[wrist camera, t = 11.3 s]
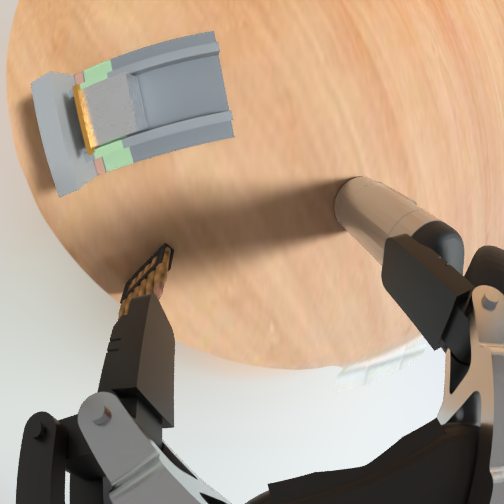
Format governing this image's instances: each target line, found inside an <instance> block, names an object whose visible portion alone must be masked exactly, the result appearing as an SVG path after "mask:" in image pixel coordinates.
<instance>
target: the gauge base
mask: <svg viewBox="0 0 504 504" xmlns="http://www.w3.org/2000/svg"><path fill="white" fill-rule="evenodd" d="M219 52H220V49H219V44H218V42H216V39H215V34H214V31H211V32H205V33H200V34H195V35H190V36H186V37H181V38H177V39H173V40H169V41H165V42H162V43H158V44H154V45H151V46H148V47H144V48H141V49H138V50H135V51H132V52H129V53H126V54H124V55H121V56H118V57H116V58H113V59H110V60H107V61H105V62H102V63H100V64H98V65H95V66H93V67H91V68H88V69H86V70H84V71H82V72H80V73H78V74H76V75H69V74H63V73H57V72H49V73H47V74H45V75H43V76H42V77H40V78H38V79H37V80H35V81H34V82H32V83H31V88H32V95H33V101H34V106H35V112H36V117H37V122H38V126H39V131H40V135H41V139H42V143H43V147H44V151H45V154H46V158H47V161H48V165H49V168H50V171H51V175H52V178H53V181H54V184H55V187H56V190H57V193H58V195H59V197H62V196H64V195H66V194H69V193H71V192H74V191H76V190H79V189H80V188H81V187H83V186H84V185H85V184H87V183H88V182H89V181H91V180H92V179H93V178H95V177H96V176H97V175H100V174H102V173H105V172H108V171H111V170H114V169H117V168H120V167H123V166H126V165H129V164H132V163H135V162H138V161H141V160H144V159H147V158H151V157H154V156H158V155H161V154H165V153H168V152H172V151H176V150H180V149H183V148H187V147H191V146H195V145H200V144H204V143H208V142H213V141H217V140H222V139H227V138H232V137H234V133H233V128H232V123H231V120H233V117H232V112H231V111H229V107H228V102H227V96H226V91H225V86H224V81H223V75H222V70H221V65H220V60H219ZM123 72H127V73H129V74H131V75H133V76H136V77H138V82H139V87H140V92H141V97H142V101H143V106H144V110H145V115H146V119H147V124H148V128H145V129H142V130H139V131H136V132H133V133H130V134H127V135H124V136H121V137H118V138H116V139H113V140H110V141H107V142H105V143H102V144H100V145H97V146H95V147H94V150H95V153H93V154H91V155H89V156H88V153H87V150H86V146H85V142H84V138H83V134H82V130H81V126H80V122H79V118H78V113H77V109H76V104H75V99H74V94H73V88H72V86H74V85H76V84H80V89H84V88H86V87H88V86H90V85H93V84H95V83H97V82H100V81H102V80H105V79H107V78H110V77H112V76H115V75H117V74H120V73H123Z"/></svg>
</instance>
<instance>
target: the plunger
mask: <svg viewBox="0 0 504 504" xmlns="http://www.w3.org/2000/svg"><path fill="white" fill-rule="evenodd" d="M72 88H73V94H74V99H75V104H76V109H77V113H78V118H79V122H80V126H81V130H82V134H83V138H84V142H85V146H86V150H87V153H88V156H89V155H91V154H93V153H95V150H94V147H95V146H97V145H100V144H102V143H105V142H107V141H110V140H113V139H116V138H118V137H121V136H124V135H127V134H130V133H133V132H136V131H139V130H142V129H145V128H148V124H147V119H146V115H145V110H144V106H143V101H142V97H141V92H140V87H139V82H138V77H136V76H133V75H131V74H129V73H127V72H123V73H120V74H117V75H115V76H112V77H110V78H107V79H105V80H102V81H100V82H97V83H95V84H93V85H90V86H88V87H86V88H84V89H80V84H76V85H74V86H72Z"/></svg>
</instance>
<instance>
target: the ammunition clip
mask: <svg viewBox="0 0 504 504" xmlns="http://www.w3.org/2000/svg"><path fill="white" fill-rule="evenodd" d="M173 253H174V250H173V249H172V248H171V247H170V246H168V245H167V244H166V243H165V244H164V245H163V246H162V247H161V248H160V249H159V250H158V251H157V252H156V253H155V254H154V255H153V256H152V257H151V258H150V259H149V260H148V261H147V262H146V263H145V264H144V265H143V266H142V267H141V268H140V269H139V270H138V271H137V272H136V273H135V274H134V275H133V277H132V278H131V279H130V280H129V281H128V282H127V283H126V285H125V288H124V291H123V295H122V298H121V301H120V303H121V308H120V311H119V318H120V317H121V316H122V315H127V313H128V309H129V305H130V302H131V299H132V298H134V297H138V296H143V295H148V294H152V293H154V294H155V295H156V296H157V298H158V300H159V299H160V297H161V295H162V292H163V288H164V284H165V282H166V279H167V273H168V271H169V270H170V268H171V263H172V258H173ZM119 318H118V320H119Z"/></svg>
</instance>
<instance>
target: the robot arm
mask: <svg viewBox="0 0 504 504" xmlns="http://www.w3.org/2000/svg"><path fill="white" fill-rule="evenodd" d="M334 213H335V216H336V219H337V221H338V222H339V223H340V224H341V225H342V226H343V227H344V228H345V229H346V230H347V231H348V232H349V233H350V234H351V235H352V236H353V237H354V238H355V239H356V240H357V241H358V242H359V243H360V244H361V245H362V246H363V247H364V248H365V249H366V250H367V251H368V252H369V253H370V254H371V255H372V256H373V257H374V258H375V259H376V260H377V261H378V262H379V263H380V264H381V265H382V274H381V276H382V282H383V285H384V287H385V289H386V291H387V292H388V293H389V294H390V295H391V296H392V298H393V299H394V300H395V301H396V302H397V304H398V305H399V306H400V307H401V309H402V310H403V311H404V312H405V313H406V315H407V316H408V317H409V318H410V320H411V321H412V322H413V323H414V325H415V326H416V327H417V329H418V330H419V331H420V332H421V334H422V335H423V336H424V338H425V339H426V340H427V341H428V343H429V344H430V345H431V347H432V348H433V349H434V350H436V349H438V348H440V347H441V348H442V349H443V351H444V352H445V353H446V364H445V385H444V397H443V403H442V406H441V408H440V410H439V413H438V415H437V418H435V419H434V420H432V421H431V422H429V423H427V424H426V425H424V426H422V427H420V428H419V429H417V430H415V431H413V432H411V433H410V434H408V435H406V436H404V437H402V438H401V439H400V440H399V441H398V442H396V443H395V444H394V445H393V446H391V447H390V448H389V449H388V450H386V451H385V452H384V453H382V454H381V455H380V456H379V457H377V458H376V459H374V460H373V461H372V462H370V463H369V464H367V465H365V466H362V467H357V468H350V469H343V470H335V471H325V472H314V473H311V474H308V475H304V476H300V477H296V478H292V479H288V480H284V481H280V482H275V483H270V484H268V487H269V491H266V492H264V493H262V494H260V495H258V496H257V497H255V498H253V499H251V500H250V501H248V502H247V503H245V504H504V250H503V249H500V248H498V247H494V246H483V247H481V248H479V249H478V250H477V251H476V253H475V255H474V257H473V259H472V261H471V263H470V265H469V267H468V270H467V272H466V274H465V276H463V264H464V244H463V241H462V238H461V236H460V235H459V234H458V232H457V231H456V230H454V229H453V228H452V227H450V226H449V225H447V224H446V223H444V222H442V221H441V220H439V219H438V218H436V217H435V216H433V215H432V214H430V213H428V212H427V211H425V210H424V209H422V208H420V207H419V206H417V204H416V202H415V201H413V200H411V199H410V198H408V197H406V196H404V195H403V194H401V193H399V192H397V191H396V190H394V189H392V188H390V187H388V186H387V185H385V184H383V183H381V182H380V183H377V182H376V181H374V180H372V179H370V178H367V177H356V178H353V179H351V180H349V181H348V182H346V183H345V184H344V185H343V186H342V187H341V189H340V190H339V192H338V194H337V196H336V199H335V202H334ZM107 351H108V353H106V357H105V361H104V365H103V369H102V374H101V378H100V383H99V388H98V392H97V393H95V394H93V395H91V396H89V397H88V398H87V399H86V400H85V401H84V402H83V403H82V405H81V407H80V409H79V412H78V414H77V415H74V416H71V417H67V418H64V419H61V420H58V421H57V420H56V419H55V418H54V417H53V416H51V415H50V414H49V413H47V412H37V413H35V414H34V415H32V416H31V417H30V418H29V420H28V421H27V423H26V426H25V428H24V433H23V439H22V444H21V451H20V458H19V466H18V476H17V490H16V504H65V471H67V472H69V473H70V504H231V503H230V502H229V501H227V500H226V499H225V498H224V497H223V496H222V495H220V494H219V493H218V492H217V491H215V490H214V489H213V488H211V487H210V486H209V485H207V484H206V483H205V482H204V481H202V480H201V479H200V478H199V477H198V476H197V475H196V474H195V473H194V472H193V471H192V470H191V469H190V468H189V467H188V466H187V465H186V464H185V463H184V462H183V461H182V460H181V459H180V458H179V457H178V456H177V455H176V454H175V453H174V451H173V450H172V449H171V448H170V447H169V446H168V445H167V444H166V443H165V441H164V440H163V439H162V428H172V427H174V354H175V339H174V334H173V330H172V327H171V325H170V323H169V321H168V319H167V317H166V315H165V313H164V311H163V309H162V307H161V304H160V302H159V300H158V298H157V296H156V295H155V294H154V293H152V294H148V295H143V296H138V297H134V298H132V299H131V302H130V305H129V309H128V313H127V315H122V316H121V317H120V318H119V320H118V322H117V323H116V324H115V326H114V327H113V330H112V334H111V337H110V342H109V345H108V349H107Z"/></svg>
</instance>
